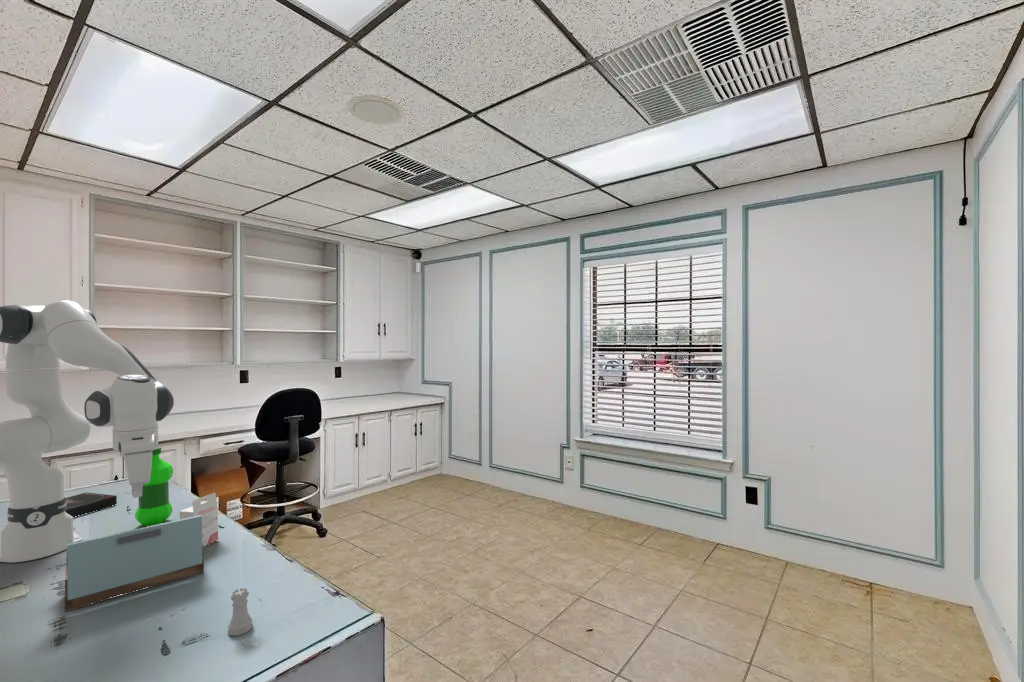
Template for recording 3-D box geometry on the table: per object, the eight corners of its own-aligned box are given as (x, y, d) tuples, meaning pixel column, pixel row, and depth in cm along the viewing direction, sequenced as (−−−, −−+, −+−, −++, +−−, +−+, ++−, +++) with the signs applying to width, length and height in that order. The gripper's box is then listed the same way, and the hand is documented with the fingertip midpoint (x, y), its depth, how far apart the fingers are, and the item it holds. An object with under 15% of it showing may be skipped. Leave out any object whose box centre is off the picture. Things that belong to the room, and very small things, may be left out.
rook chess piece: (234, 624, 98) (233, 586, 98) (256, 623, 99) (256, 584, 99) (223, 637, 94) (222, 597, 94) (246, 636, 94) (245, 596, 94)
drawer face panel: (68, 598, 104) (67, 544, 104) (201, 561, 121) (200, 514, 121) (67, 601, 103) (66, 546, 103) (203, 564, 119) (202, 516, 120)
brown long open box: (67, 591, 113) (66, 549, 113) (196, 557, 131) (195, 521, 131) (65, 612, 104) (64, 566, 104) (203, 572, 122) (203, 533, 122)
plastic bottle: (173, 524, 155) (172, 448, 155) (132, 532, 149) (131, 453, 149) (174, 515, 163) (173, 443, 164) (135, 522, 157) (134, 448, 158)
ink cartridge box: (204, 539, 142) (203, 491, 143) (218, 540, 142) (217, 491, 142) (179, 552, 134) (178, 500, 134) (194, 553, 133) (193, 501, 133)
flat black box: (29, 518, 165) (29, 507, 165) (86, 502, 181) (86, 492, 181) (61, 523, 160) (61, 511, 160) (116, 506, 176) (116, 495, 176)
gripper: (117, 437, 122) (118, 490, 122) (121, 448, 107) (122, 509, 107) (148, 433, 127) (149, 484, 127) (156, 443, 111) (157, 502, 111)
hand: (137, 496), depth 117 cm, fingers closed
